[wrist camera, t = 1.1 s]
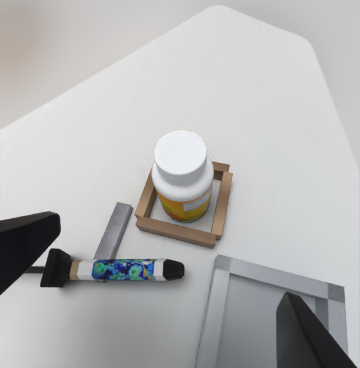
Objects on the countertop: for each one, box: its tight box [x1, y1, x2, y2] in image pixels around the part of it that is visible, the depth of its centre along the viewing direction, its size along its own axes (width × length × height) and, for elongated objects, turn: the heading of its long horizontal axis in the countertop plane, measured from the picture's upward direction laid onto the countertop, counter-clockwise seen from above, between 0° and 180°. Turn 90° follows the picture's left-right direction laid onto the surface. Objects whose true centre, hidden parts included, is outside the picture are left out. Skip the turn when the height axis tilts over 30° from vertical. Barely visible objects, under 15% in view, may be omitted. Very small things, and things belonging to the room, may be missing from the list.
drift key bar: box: [93, 202, 133, 283], centre depth 22 cm, size 8×2×1 cm, turn 165°
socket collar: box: [134, 160, 233, 248], centre depth 23 cm, size 9×9×2 cm
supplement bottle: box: [152, 130, 214, 222], centre depth 20 cm, size 5×5×10 cm
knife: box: [25, 248, 184, 288], centre depth 20 cm, size 31×3×4 cm, turn 86°
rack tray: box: [195, 254, 348, 368], centre depth 17 cm, size 10×10×3 cm
